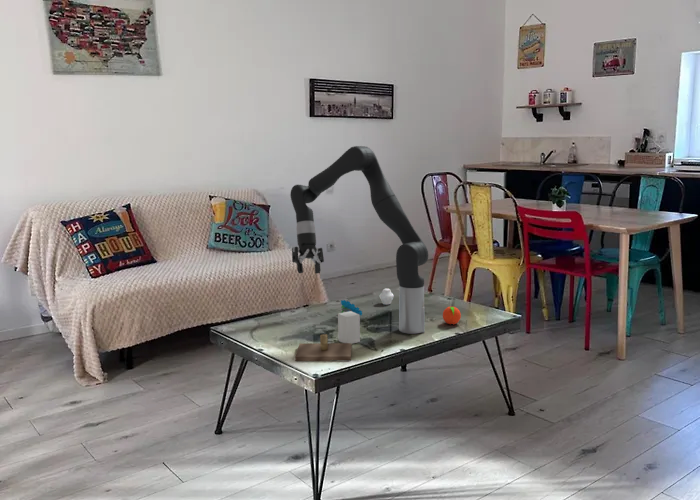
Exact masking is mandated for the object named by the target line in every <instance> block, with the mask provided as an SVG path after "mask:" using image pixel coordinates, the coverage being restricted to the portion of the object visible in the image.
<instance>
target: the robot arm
mask: <svg viewBox="0 0 700 500" xmlns="http://www.w3.org/2000/svg"><path fill="white" fill-rule="evenodd" d="M354 171H360V172H361V173H363V175H364V177H365V179H366V180H367V182H368V185H369V191H370V200H371V205H372V207H373V209H374V210H375V212H376V214H377V216H378V217H379V219H380V220H381V222H382V223H383V224H384V225H386V226H387V227H388V228H389V229H390V230H392V232H393V233H394V234H396V236H398V239H400V242H401V243H402V244H400V245H399V246H398V248H397V250H396V254H395V262H396V263H395V267H396V277H397V278H396V279H397V280H398V283H399V284H398V306H399V307H398V317H399V318H398V331H399V332H400V333H403V334H420V333H421V334H422V333H425V332H426V331H425V326H426V325H425V322H426V321H425V318H426V317H425V315H426V314H425V313H426V312H425V311H426V308H425V277H423V276H422V275H419V266H423V265H425V264H427V262H428V260H429V250H428V248H427V246H426V244H425V242H424V241H423V240H422V238H421V237H420V235H419V234H418V232H416V230H415V228H414V226H413V224H412V223H411V221H410V220H409V218H408V216H407V215H406V213H405V211H404V209H403V207H402V205H401V203H400V201H399V200H398V197H397V195H395V193H394V191H393V189H392V187H391V185H390V184H389V181H388V180H387V178H386V177H385V174H384V173H383V169H382V167H381V165H380V163H379V161H378V159H377V156H376V154H375V152H374V150H373V149H372V148H370V147H368V146H362V145H355V146H354V145H353V146H351V147H350V148H349V149H347V150H346V151H344V153H342V154H341V156H339V157H338V159H336V160H335V161H333V163H332V164H330V166H328V167H326V168H325V169H324V170H322V171H320V172H319V173H318V174H316V175H314V176H313V177H311V179H309V180H308V185H303V184H295V185H293V186H292V188H291V189H290V194H289V196H290V200H291V203H292V206H293V210H294V212H295V217H296V218H295V219H296V240H297V241H296V243H297V246H294V247H292V248H291V259H292V260H291V261H292V262H293V263H295V264H296V268H297V270H296V271H297V272H298V274H303V273H304V267H303V261H304V260H305V259H308V260H309V259H310V260H311V261H313V263H314V273H315V274H320V273H321V264H322V263H325V258H324V251H323V247H318V248H317V247H316V246H317V237H316V226H315V220H314V219H315V218H314V211H313V209H312V208H311V207H309V206H308V205H307V204H311V203H313V202H314V201H315V200H316V199H317V198H319V196H320V195H321V194H322V193H323V192H325V191H326V190H328V189H330V188H332V187H333V186H334V185H335V184H336V183H337V182H338V180H339V179H340V178H341V177H343V176H344V175H346V174H348V173H351V172H354Z"/></svg>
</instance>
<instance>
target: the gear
mask: <svg viewBox="0 0 700 500" xmlns="http://www.w3.org/2000/svg"><path fill="white" fill-rule="evenodd" d="M340 305H341V312H340V313H344V312H349V311H352V312H354V313H357V314H359V315H360V316H362V315H363V311H362V310H361V309H360V308H359V307H358V306H356V305H355V304H354V303H351V302H350V301H348V300H345V299H343V300H342V299H341V300H340Z"/></svg>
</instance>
